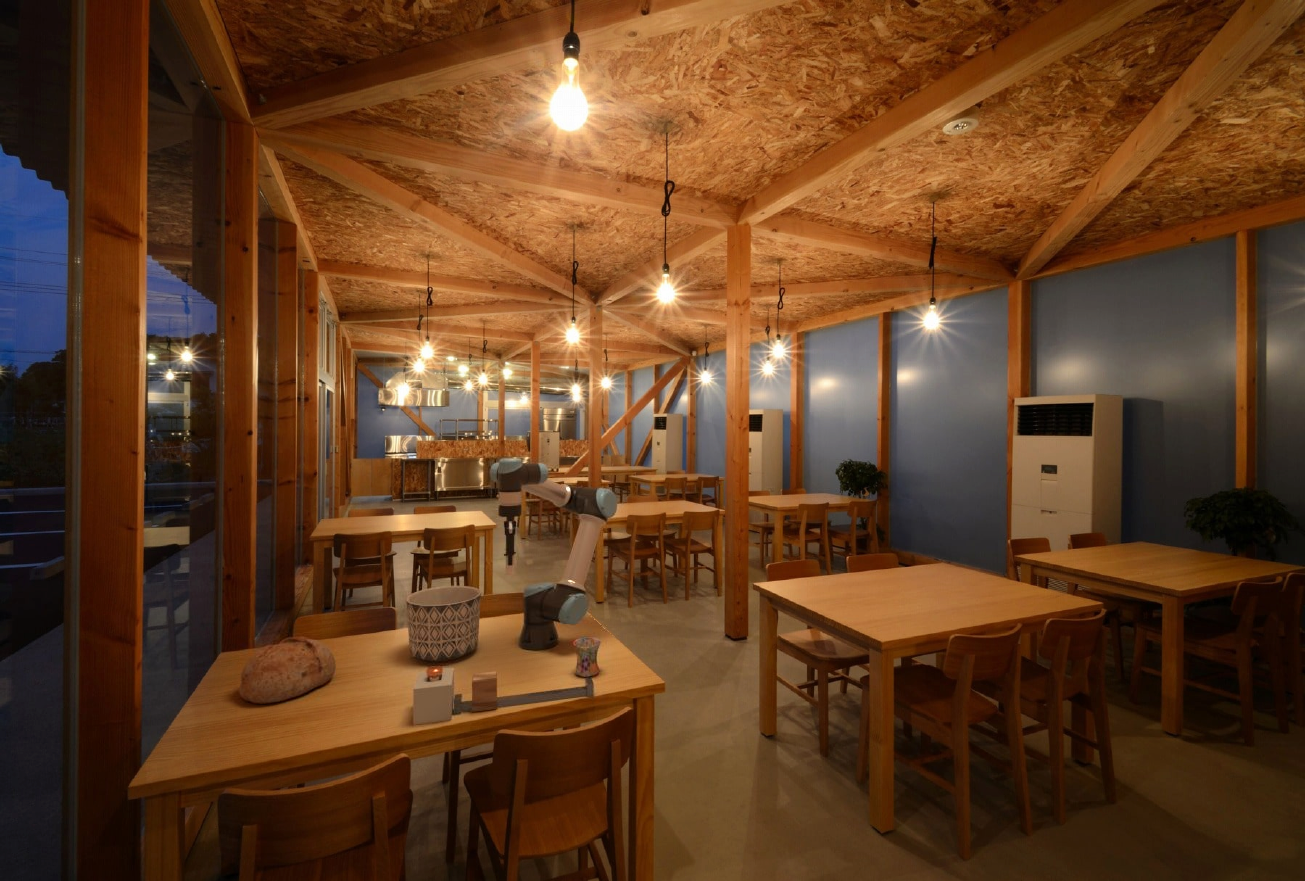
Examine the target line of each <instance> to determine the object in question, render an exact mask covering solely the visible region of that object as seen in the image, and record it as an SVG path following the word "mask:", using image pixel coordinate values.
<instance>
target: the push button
mask: <svg viewBox="0 0 1305 881" xmlns="http://www.w3.org/2000/svg"><path fill="white" fill-rule="evenodd" d="M443 669H444V667H443V666H442V665H441V666H440V665H433V666H430V667H428V668H426V670H425V671H426V675H427V676H428V677H430V681H438V680H439V675H441V674H442V673H443Z"/></svg>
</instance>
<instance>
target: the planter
mask: <svg viewBox="0 0 1305 881" xmlns="http://www.w3.org/2000/svg"><path fill="white" fill-rule="evenodd" d="M405 600H406V601H405V602H406V615H407V616H406V617H407V630H408V645H409V646H408V647H409V654H410V655H411V656H412V657H414V659H418V660H422V661H428V662H433V663H440V662H442V663H443V662H448V661H453V660H456V659H459V658H461V657H463V656H465V655H467V654H470V653H471V652H473V651H474V650H475V649H476V648H477V646H478V644H479V633H480V631H479V630H480V629H479V628H480V618H481V617H480V616H481V602H482V601H481V600H482V591H481V590H480V589H479V588H477V587H473V586H467V585H448V586H447V585H445V586H437V587H430V588H426V589H422V590H418V591H415V592H412V593H411V594H409V595H407V597H406V599H405Z"/></svg>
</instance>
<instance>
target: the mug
mask: <svg viewBox="0 0 1305 881" xmlns="http://www.w3.org/2000/svg"><path fill="white" fill-rule="evenodd" d="M572 644H573V647H574V649H575V654H576V666H575V668H574V671H573V672H574V674H575V675H577V676H579V677H584V678H587V677H588V678H589V677H593V676H596V675H598V673H599V672H600V668H599V665H598V658H597V657H598V652H599V651H598V650H599V648H600V646H601V640H600V639H599V638H596V637H591V636H590V637H581V638H577V639H575V640H574V641H573V643H572Z"/></svg>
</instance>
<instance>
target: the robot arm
mask: <svg viewBox="0 0 1305 881" xmlns="http://www.w3.org/2000/svg"><path fill="white" fill-rule="evenodd" d="M489 476H490V479H491V480H492V481H493V482H494V483H497V485H498V494H497V495H496V498H498V504H499V505H498V507H497V508H498V510H497V511H498V513H497V514H498V516H499V517H501V518H506V519H505V520H504V521H503V527H504V535H505V549H504V550H505V553H503V556H504V557H505V576H511V575H512V576H513V575H514V576H515V555H516V554H517V551H515V536H516V528H517V521H516V520H514V519H515V517H521V515H522V503H523V501H522V498H523V496H522V491H524V492H527V493H529V494H532V495H534V496H536V497H538V498H542V499H543V500H547V501H549V502H552V504H553V505H554V506H556V507H557V508H560V509H562V510H565V511H568V512H569V513H571V514H574V515H578V519H579V520H580V522H579V526H578V529H577V532H576V535H575V538H574V541H573V546H572V548H571V552H570V555H569V557H568V561H567V564H566V565H565V566H566V567H565V570H564V573H563V576H562V579H561V580H559V581H558V582H557V583H556V585H555V583H553V582H551V581H545V582H544V581H543V582H537V583H532V584H528V585H527V586H526V587H525V588H524V590H523V596H522V597H523V598H522V600H523V626H522V629H521V632H520V635H519V637H518V638H519V639H518V645H519V647H520V648H522V649H524V650H529V651H540V650H541V651H542V650H548V649H551V648H554V647H555V646H557V645H558V644H559V634H558V631H557V627H556V624H555V622H556V623H559V624H563V625H568V626H569V625H570V626H574V625H577V624H579V623H580V622H581V621H582V620H583V619H584V618H585V616H586V614H587V612H588V609H589V599H588V596H586V594H587V590H586V588H585V583H586V580H587V576H588V574H589V573H588V572H589V570H590V566H591V563H592V559H593V556H594V552H595V549H596V546H597V543H598V539H599V536H600V533H601V529H602V527H604V526H606V525H607V522H608V519H611V518H613V517H614V516H615V515H616V513H617V510H618V501H617V498H616V494H615V493H614V491H613V490H611V489H609V488H603V487H592V486H590V487H589V486H587V487H586V486H573V485H568V484H565V483H561V484H559V483H557V482H555V481H552V480H551V479H549V470H548V467H547V465H546V464H545V463H542V462H533V463H532V462H523V461H522V459H521V458H518V457H517V458H516V457H514V458H511V457H509V458H501V459H499V461H498V462H495V463H493V464H492V465H491V467H490V469H489Z"/></svg>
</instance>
